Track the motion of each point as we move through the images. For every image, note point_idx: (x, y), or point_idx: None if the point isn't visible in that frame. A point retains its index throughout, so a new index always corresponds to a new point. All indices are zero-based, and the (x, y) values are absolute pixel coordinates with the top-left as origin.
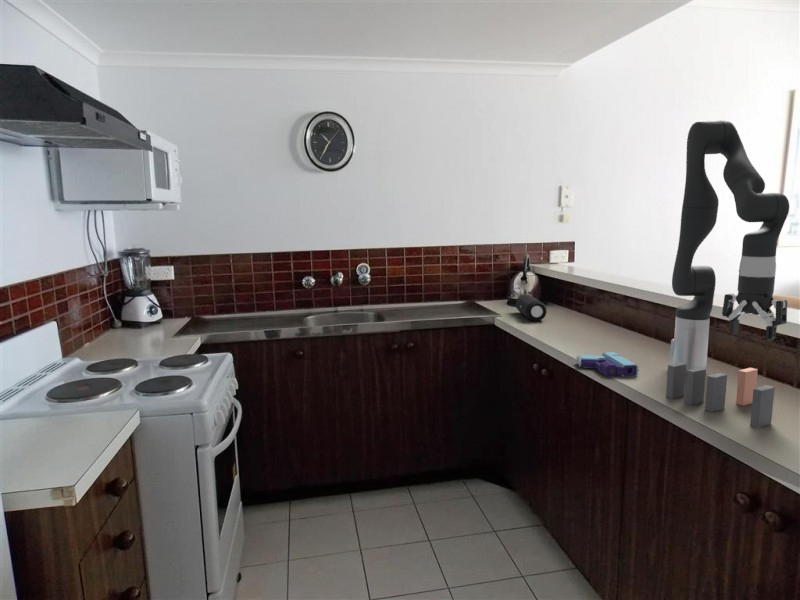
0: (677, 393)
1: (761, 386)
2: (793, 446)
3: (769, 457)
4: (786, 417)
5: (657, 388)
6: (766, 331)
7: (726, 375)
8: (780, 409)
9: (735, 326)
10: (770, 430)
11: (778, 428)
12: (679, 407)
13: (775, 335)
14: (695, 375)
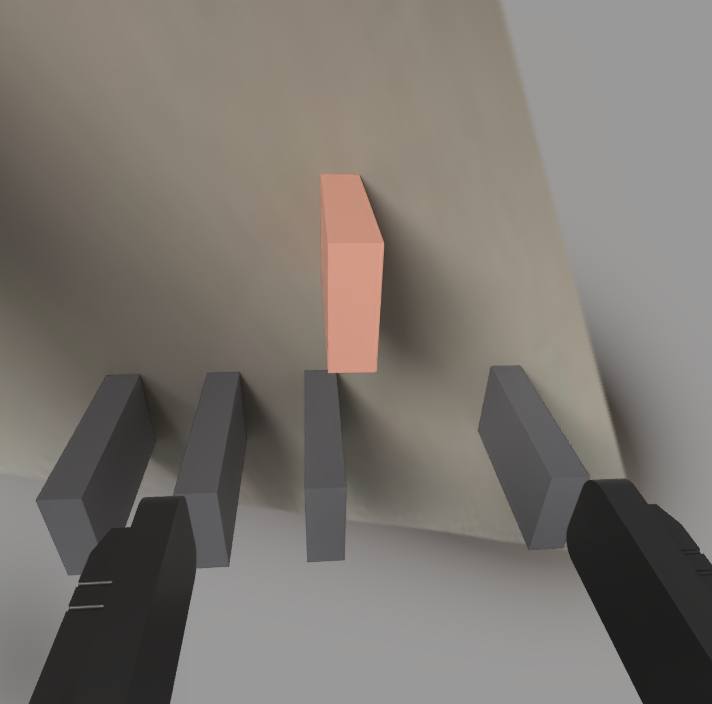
0: (144, 427)
1: (542, 508)
2: (621, 462)
3: None
4: (537, 249)
5: (6, 394)
6: (623, 650)
7: (346, 488)
8: (483, 164)
9: (170, 640)
10: None
11: (551, 381)
12: (244, 483)
13: (688, 545)
14: (230, 535)
